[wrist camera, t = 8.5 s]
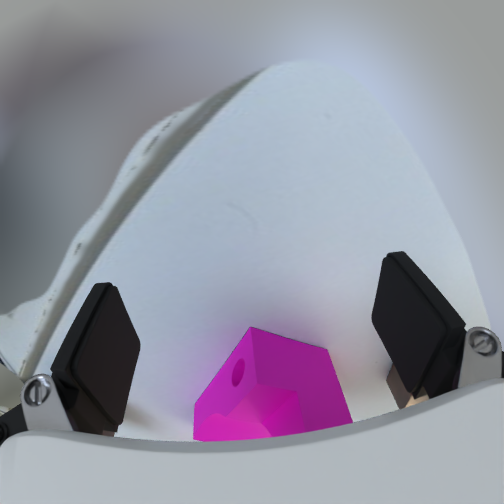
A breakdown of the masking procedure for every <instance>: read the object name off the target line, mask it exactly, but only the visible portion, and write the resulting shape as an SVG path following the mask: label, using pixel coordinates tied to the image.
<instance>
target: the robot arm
mask: <svg viewBox="0 0 504 504" xmlns="http://www.w3.org/2000/svg"><path fill="white" fill-rule="evenodd" d="M372 323H373V325H374V327H375V329H376V331H377V333H378V335H379V337H380V339H381V340H382V342H383V344H384V346H385V348H386V350H387V352H388V354H389V356H390V358H391V360H392V362H393V364H394V366H395V368H396V370H397V372H398V374H399V376H400V378H401V380H402V383H403V385H404V387H405V389H406V391H407V392H408V393H411V394H412V396H413V398H414V400H415V399H417V398H420V397H423V396H426V395H428V397H429V400H426V401H424V402H421V403H418V404H415V405H412V406H409V407H406V408H403V409H400V410H397V411H394V412H390V413H387V414H384V415H380V416H377V417H373V418H370V419H366V420H362V421H358V422H354V423H350V424H346V425H341V426H337V427H332V428H327V429H322V430H317V431H311V432H305V433H299V434H293V435H286V436H278V437H270V438H260V439H249V440H235V441H212V442H176V441H154V440H140V439H130V438H120V437H111V436H103V435H102V434H103V430H104V431H111V432H117V430H118V425H121V424H122V422H123V418H124V414H125V409H126V405H127V400H128V396H129V391H130V387H131V383H132V379H133V375H134V371H135V367H136V363H137V359H138V356H139V352H140V340H139V338H138V336H137V333H136V331H135V329H134V327H133V325H132V322H131V320H130V318H129V315H128V313H127V311H126V308H125V306H124V303H123V301H122V298H121V296H120V293H119V291H118V289H117V287H116V286H113V285H112V284H111V283H110V282H107V283H96V284H95V285H94V286H93V288H92V289H91V291H90V293H89V295H88V296H87V298H86V300H85V302H84V303H83V305H82V307H81V309H80V311H79V312H78V314H77V316H76V318H75V320H74V322H73V324H72V325H71V327H70V329H69V331H68V333H67V335H66V337H65V339H64V341H63V343H62V345H61V347H60V349H59V351H58V353H57V355H56V357H55V360H54V362H53V364H52V366H51V368H50V369H51V371H52V372H53V373H52V375H51V377H50V376H49V375H46V374H37V375H35V376H33V377H31V378H30V379H29V380H28V381H27V382H26V383H25V384H24V386H23V388H22V390H21V394H20V397H21V404H19V405H17V406H16V407H14V408H13V409H11V410H10V411H8V412H7V413H5V414H3V415H2V416H0V504H504V352H503V351H502V349H501V348H502V347H501V342H500V341H499V338H498V337H497V336H496V335H495V333H493V332H492V331H491V330H489V329H487V328H484V327H473V328H471V329H469V330H468V332H467V331H466V330H465V329H464V327H465V325H466V323H465V322H464V321H463V319H462V318H461V317H460V316H459V314H458V313H457V312H456V311H455V309H454V308H453V307H452V306H451V304H450V303H449V302H448V301H447V300H446V298H445V297H444V296H443V295H442V294H441V292H440V291H439V290H438V289H437V288H436V286H435V285H434V284H433V283H432V282H431V281H430V280H429V278H428V277H427V276H426V275H425V274H424V273H423V272H422V271H421V269H420V268H419V267H418V266H417V265H416V264H415V263H414V262H413V261H412V260H411V259H410V257H409V256H408V255H407V254H406V253H405V252H403V251H400V252H392V253H388V254H387V256H386V257H385V258H384V259H383V261H382V266H381V272H380V278H379V283H378V288H377V293H376V298H375V302H374V307H373V311H372Z"/></svg>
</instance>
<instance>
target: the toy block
mask: <svg viewBox="0 0 504 504" xmlns="http://www.w3.org/2000/svg"><path fill="white" fill-rule="evenodd" d="M350 423H353V421H352V418H351V415H350V412H349V409H348V407H347V404H346V401H345V398H344V395H343V392H342V389H341V386H340V384H339V381H338V378H337V375H336V372H335V370H334V367H333V364H332V361H331V359H330V356H329V353H328V350H327V349H323V348H320V347H316V346H312V345H309V344H305V343H302V342H298V341H295V340H292V339H288V338H285V337H282V336H278V335H275V334H272V333H269V332H265V331H262V330H259V329H256V328H253V327H250V328H249V330H248V331H247V332H246V334H245V335H244V337H243V338H242V340H241V341H240V342H239V344H238V345H237V347H236V348H235V350H234V351H233V352H232V354H231V355H230V357H229V358H228V359H227V361H226V362H225V364H224V365H223V366H222V368H221V369H220V371H219V372H218V373H217V375H216V376H215V377H214V379H213V380H212V382H211V383H210V384H209V386H208V387H207V388H206V390H205V391H204V393H203V394H202V395H201V397H200V398H199V399H198V401H197V402H196V403H195V408H194V431H193V439H194V440H199V441H203V442H212V441H235V440H249V439H260V438H270V437H278V436H286V435H293V434H299V433H305V432H311V431H317V430H322V429H327V428H332V427H337V426H341V425H346V424H350Z"/></svg>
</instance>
